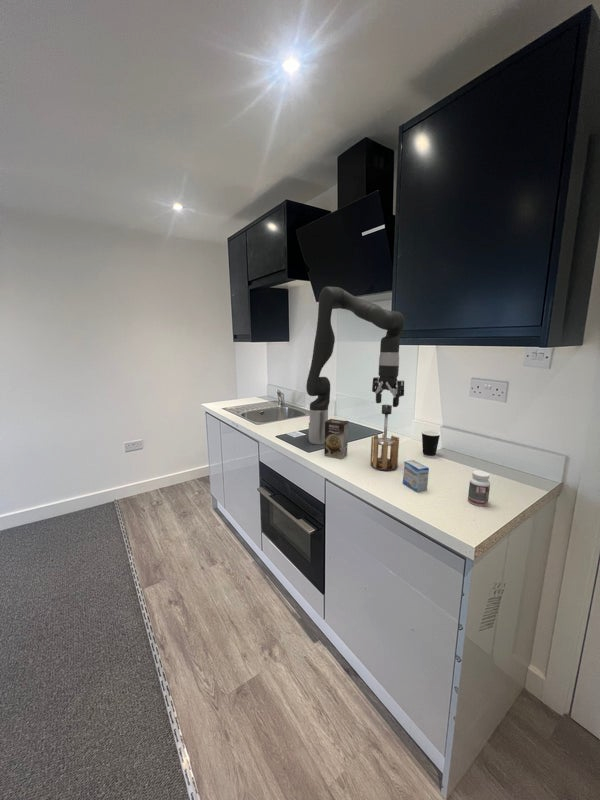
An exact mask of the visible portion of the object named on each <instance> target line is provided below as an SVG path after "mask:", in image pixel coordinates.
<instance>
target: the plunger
mask: <svg viewBox="0 0 600 800" xmlns="http://www.w3.org/2000/svg"><path fill="white" fill-rule="evenodd" d="M392 409H393V404H392V405H391V404H382V405H381V414H382V415H384V425H383V434H384V438H382V437H378V438H376V439H375V440H378V441H379V445H378V446H382V445H383V442H388V447H391V446H392V443H393V442H394V441H395V440H393V439H391V437H387V436H388V421H389V420H388V419H389V415H392Z"/></svg>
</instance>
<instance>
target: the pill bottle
mask: <svg viewBox="0 0 600 800" xmlns="http://www.w3.org/2000/svg"><path fill="white" fill-rule="evenodd" d="M471 474H472V477H471V478H470V479H469V482H468V483H469V485H468V492H467V493H468V495H467V496H468V497H467V501H468V502H469V503H470V504H472V505H474V506H478V507H485V506H488V504H489V498H490V497H489V496H490V489H491V482H490V473H488V472H486V471H483V470H473V471H472V472H471Z"/></svg>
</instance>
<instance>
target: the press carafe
mask: <svg viewBox="0 0 600 800" xmlns="http://www.w3.org/2000/svg"><path fill="white" fill-rule="evenodd" d="M376 438H379V435H378V434H374V435H373V436H371V442H370V443H371V444H370V460H369V461H370V467H371V468H372V469H374V470H376V471H380V472H381V471H382V472H394V471H395V470H397V468H398V466H399V465H398V462H399V461H398V460H399V444H400V437H398V436H394V435H391V436H390V439H393V440H395V441H394V442H393V443H392V446H390V453H389V452H388V451H389V446H388V442H383V445H381V449H380V450H381V451H380V452H381V453H380V457H379V446H380V445H379V441H378V440H375V439H376ZM381 438H384V433H382V435H381ZM388 453H389V458H388Z"/></svg>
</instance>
